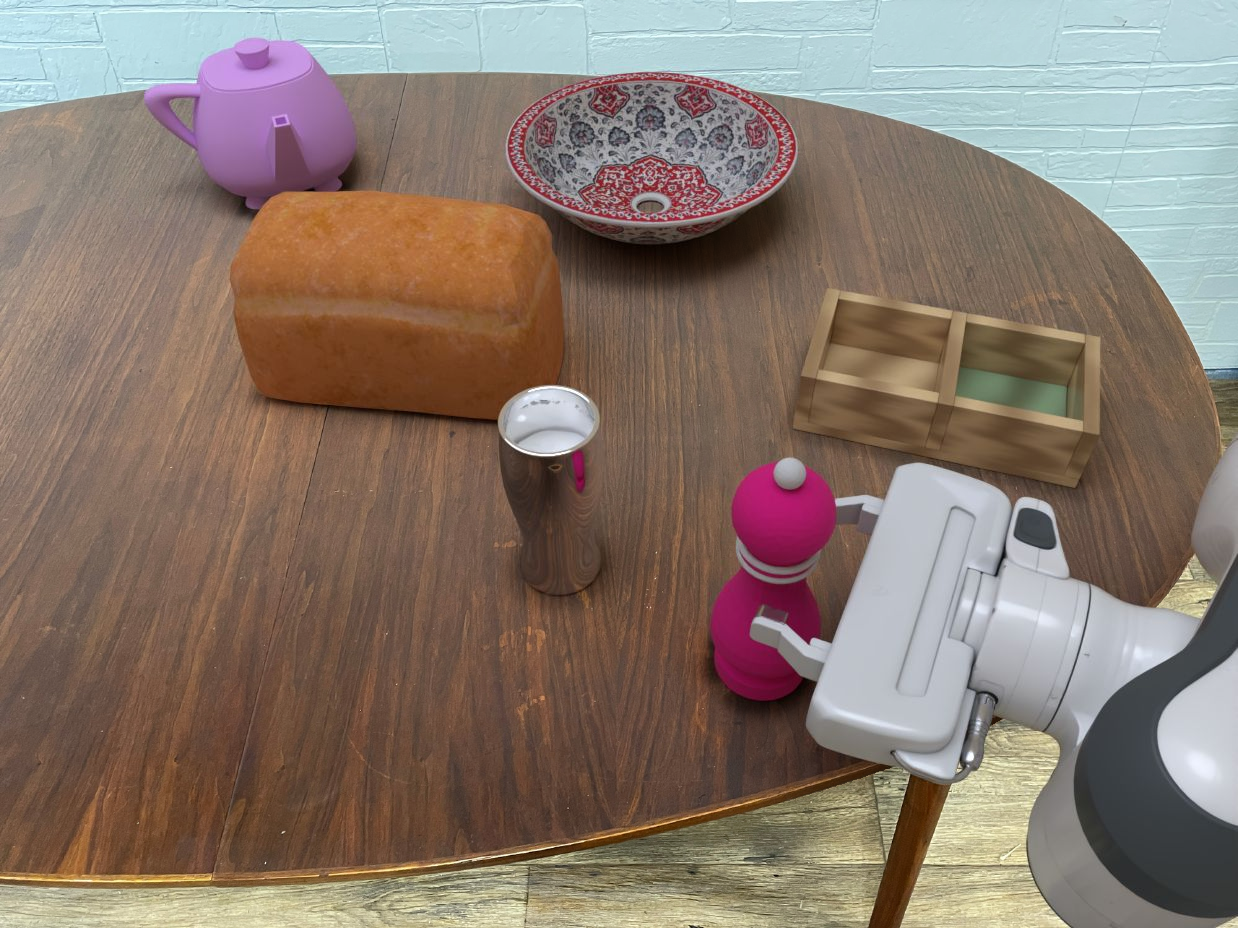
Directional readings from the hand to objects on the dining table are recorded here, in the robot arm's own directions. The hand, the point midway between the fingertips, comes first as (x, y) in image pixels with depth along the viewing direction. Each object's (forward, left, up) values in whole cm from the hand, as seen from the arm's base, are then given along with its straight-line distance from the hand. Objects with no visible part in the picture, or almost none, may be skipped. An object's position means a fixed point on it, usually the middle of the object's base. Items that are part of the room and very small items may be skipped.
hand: (779, 561), depth 64 cm
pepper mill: (0, 0, -11) cm, 11 cm away
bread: (+36, -21, -11) cm, 43 cm away
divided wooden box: (-9, -29, -11) cm, 32 cm away
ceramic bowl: (+23, -51, -11) cm, 57 cm away
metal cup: (+16, -4, -11) cm, 20 cm away
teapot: (+63, -43, -11) cm, 77 cm away
